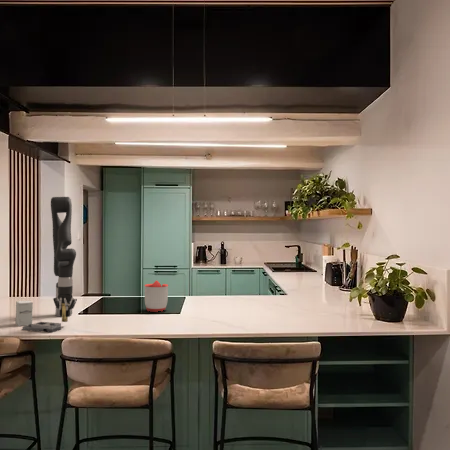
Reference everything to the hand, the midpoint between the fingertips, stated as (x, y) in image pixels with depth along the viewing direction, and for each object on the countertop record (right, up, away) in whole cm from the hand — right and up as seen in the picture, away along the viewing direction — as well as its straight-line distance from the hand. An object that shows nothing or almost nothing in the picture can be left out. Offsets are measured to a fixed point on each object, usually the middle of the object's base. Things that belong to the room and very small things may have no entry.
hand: (64, 316), depth 229 cm
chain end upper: (-7, -5, -8) cm, 12 cm away
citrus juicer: (+42, -7, +49) cm, 65 cm away
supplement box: (-24, -5, +3) cm, 25 cm away
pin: (0, -3, 0) cm, 3 cm away
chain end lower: (-12, -5, -7) cm, 15 cm away
